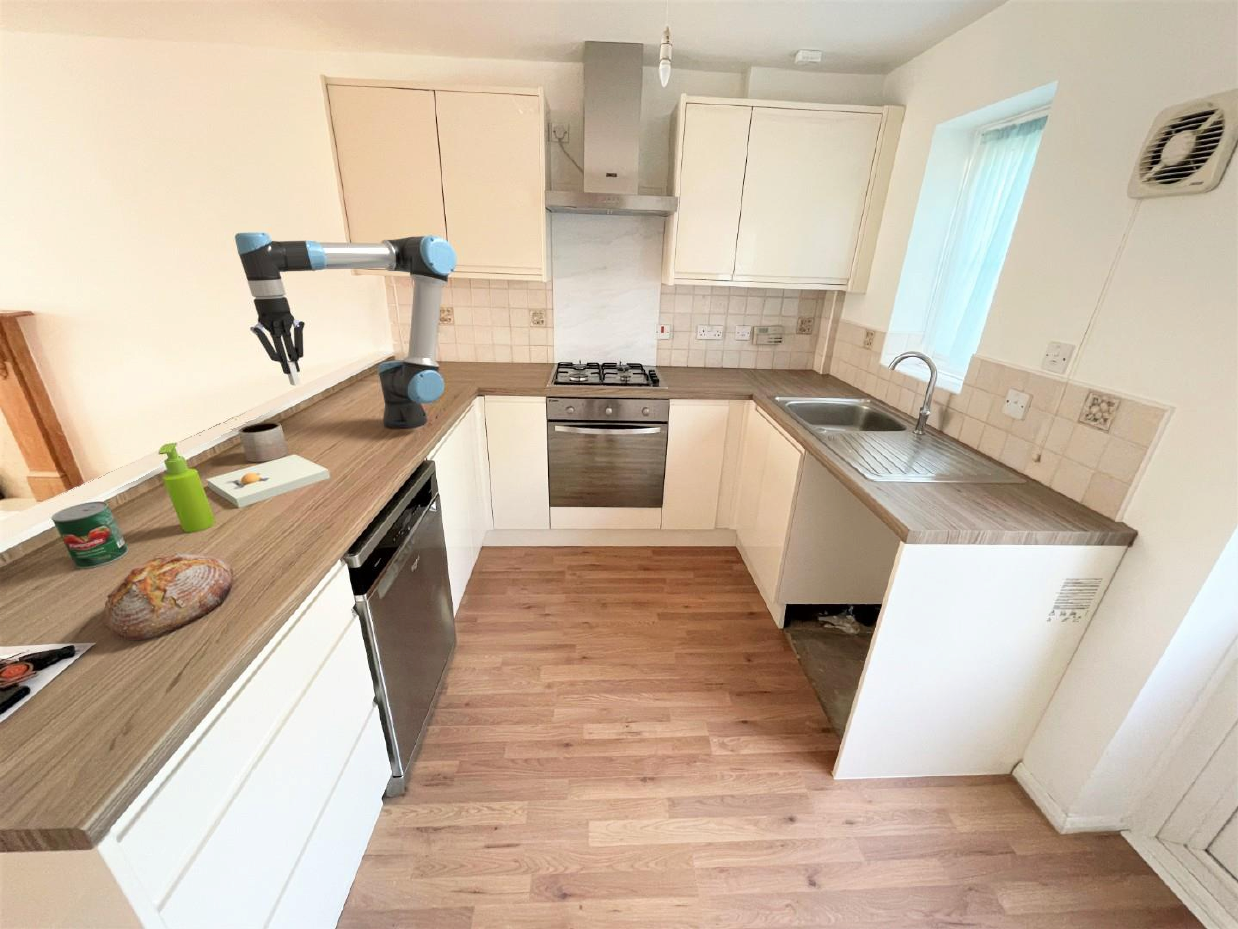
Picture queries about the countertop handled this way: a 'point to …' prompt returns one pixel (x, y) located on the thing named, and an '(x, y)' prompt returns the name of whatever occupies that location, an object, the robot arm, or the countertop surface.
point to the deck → (268, 480)
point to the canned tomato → (90, 534)
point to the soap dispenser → (186, 492)
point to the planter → (263, 442)
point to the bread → (167, 595)
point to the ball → (249, 478)
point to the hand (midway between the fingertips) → (295, 384)
